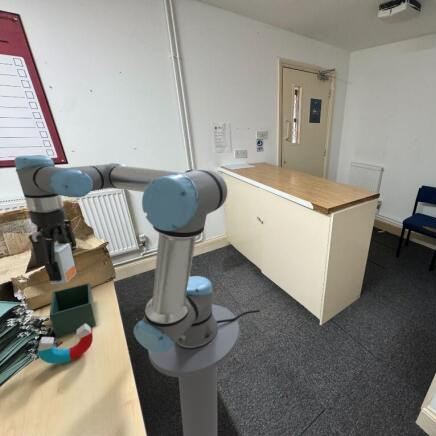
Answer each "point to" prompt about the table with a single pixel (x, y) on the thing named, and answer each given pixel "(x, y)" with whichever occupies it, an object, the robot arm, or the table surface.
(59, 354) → the magnet
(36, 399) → the table surface
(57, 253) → the cosmetic box
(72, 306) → the bin
